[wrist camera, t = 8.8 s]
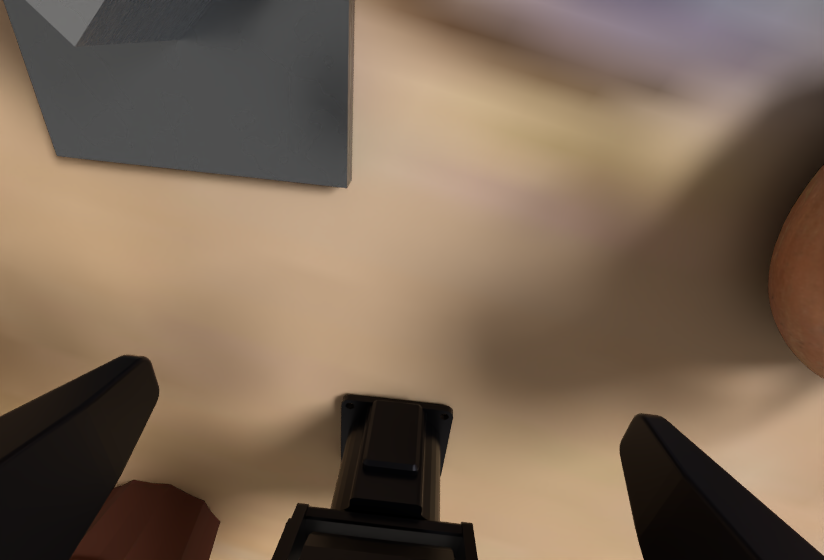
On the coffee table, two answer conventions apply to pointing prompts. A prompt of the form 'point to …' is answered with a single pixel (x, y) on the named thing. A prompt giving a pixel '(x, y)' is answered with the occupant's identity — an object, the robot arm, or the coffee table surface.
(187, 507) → the muffin
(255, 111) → the flange plate
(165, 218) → the coffee table surface
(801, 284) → the ceramic jug
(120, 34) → the collar
